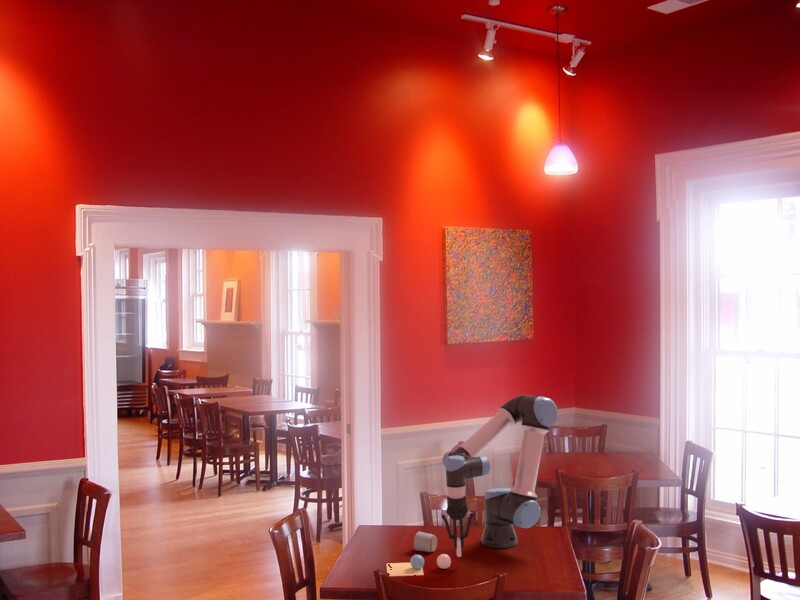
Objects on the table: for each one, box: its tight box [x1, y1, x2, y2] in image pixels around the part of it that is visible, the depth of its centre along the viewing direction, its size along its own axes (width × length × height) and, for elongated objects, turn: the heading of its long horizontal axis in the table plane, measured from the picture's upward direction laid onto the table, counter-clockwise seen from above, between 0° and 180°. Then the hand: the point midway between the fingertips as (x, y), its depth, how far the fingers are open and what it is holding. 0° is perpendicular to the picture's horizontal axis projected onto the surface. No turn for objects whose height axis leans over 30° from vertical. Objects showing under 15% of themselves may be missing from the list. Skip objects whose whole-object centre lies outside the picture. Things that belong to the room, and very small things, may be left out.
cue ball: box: [436, 553, 452, 570], centre depth 305 cm, size 6×6×6 cm
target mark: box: [386, 562, 425, 577], centre depth 305 cm, size 14×14×1 cm
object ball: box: [409, 554, 425, 569], centre depth 305 cm, size 6×6×6 cm
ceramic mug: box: [413, 531, 438, 553], centre depth 327 cm, size 11×8×8 cm
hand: (459, 555), depth 306 cm, fingers closed
